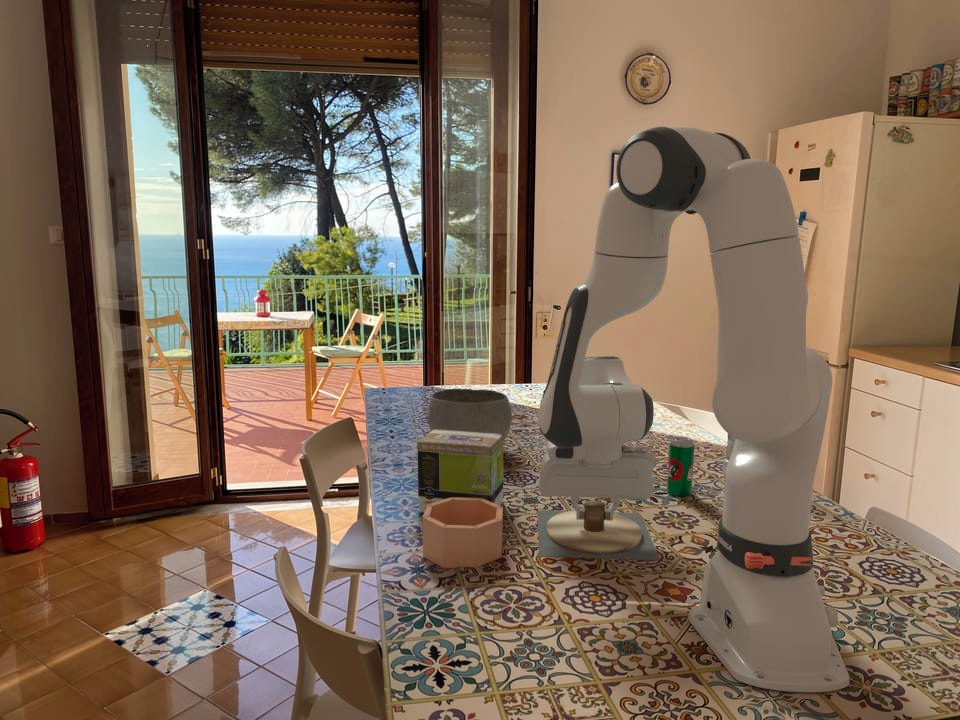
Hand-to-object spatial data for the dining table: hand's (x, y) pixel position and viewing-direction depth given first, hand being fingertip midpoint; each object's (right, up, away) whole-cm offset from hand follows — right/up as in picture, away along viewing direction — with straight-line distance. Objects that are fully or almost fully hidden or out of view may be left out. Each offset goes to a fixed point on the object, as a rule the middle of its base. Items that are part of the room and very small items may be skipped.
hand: (594, 519), depth 127 cm
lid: (0, -3, +1) cm, 3 cm away
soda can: (+21, 0, +21) cm, 30 cm away
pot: (-23, -4, -6) cm, 25 cm away
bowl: (-23, +5, +48) cm, 54 cm away
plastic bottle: (+37, +2, +30) cm, 48 cm away
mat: (0, -3, +1) cm, 3 cm away
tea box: (-24, -1, +13) cm, 28 cm away
